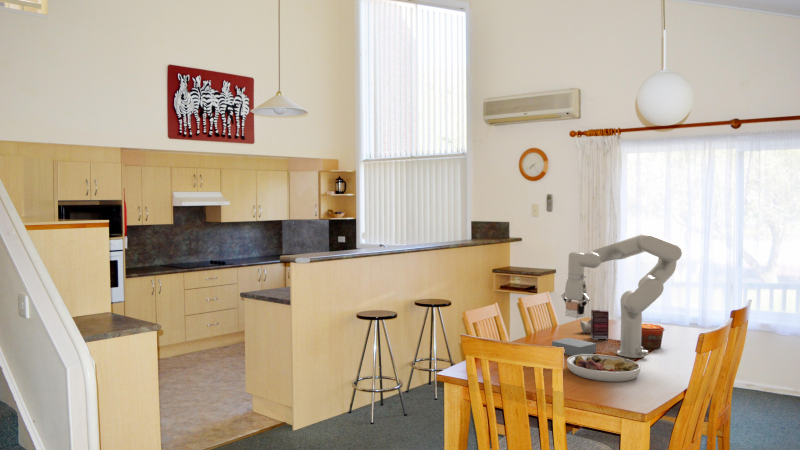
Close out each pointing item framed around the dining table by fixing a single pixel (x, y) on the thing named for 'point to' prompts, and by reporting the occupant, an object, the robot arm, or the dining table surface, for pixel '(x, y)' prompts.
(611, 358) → the bowl
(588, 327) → the ceramic sculpture
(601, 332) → the supplement box
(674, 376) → the dining table surface
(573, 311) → the housing
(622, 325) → the robot arm
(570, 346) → the stand
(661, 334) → the food container
